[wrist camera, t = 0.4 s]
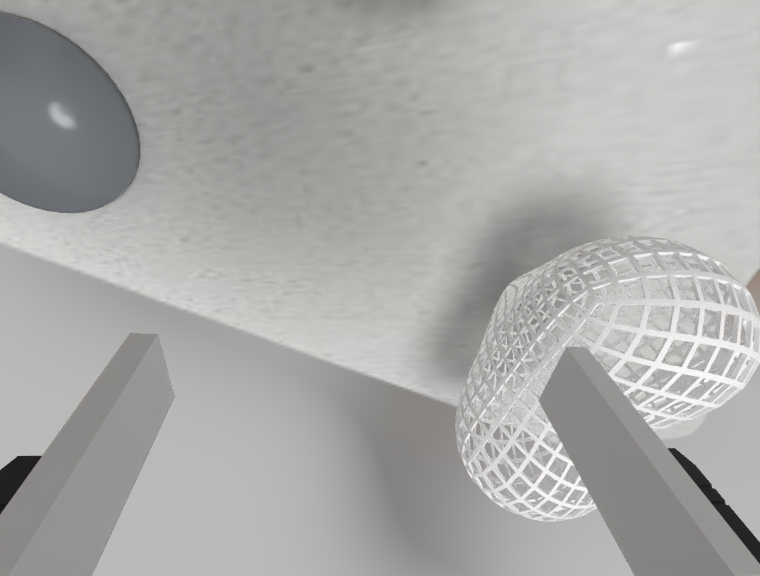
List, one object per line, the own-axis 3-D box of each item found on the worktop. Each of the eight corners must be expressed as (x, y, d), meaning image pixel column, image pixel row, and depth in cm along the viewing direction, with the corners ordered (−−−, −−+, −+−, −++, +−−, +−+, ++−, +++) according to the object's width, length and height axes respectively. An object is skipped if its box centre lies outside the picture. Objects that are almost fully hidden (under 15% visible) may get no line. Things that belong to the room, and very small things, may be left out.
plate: (-116, -5, 26) (-134, -7, 25) (117, 30, 28) (109, 30, 27) (-22, 200, 34) (-33, 204, 33) (154, 215, 36) (149, 220, 35)
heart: (518, 157, 37) (701, 274, 18) (637, 204, 41) (887, 340, 22) (408, 359, 50) (449, 544, 32) (506, 380, 54) (592, 554, 36)
